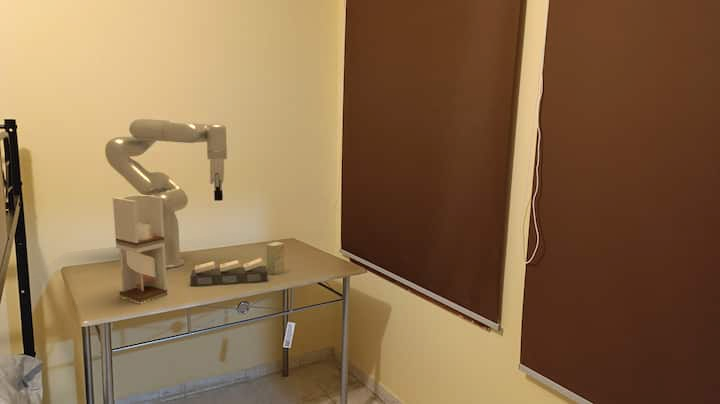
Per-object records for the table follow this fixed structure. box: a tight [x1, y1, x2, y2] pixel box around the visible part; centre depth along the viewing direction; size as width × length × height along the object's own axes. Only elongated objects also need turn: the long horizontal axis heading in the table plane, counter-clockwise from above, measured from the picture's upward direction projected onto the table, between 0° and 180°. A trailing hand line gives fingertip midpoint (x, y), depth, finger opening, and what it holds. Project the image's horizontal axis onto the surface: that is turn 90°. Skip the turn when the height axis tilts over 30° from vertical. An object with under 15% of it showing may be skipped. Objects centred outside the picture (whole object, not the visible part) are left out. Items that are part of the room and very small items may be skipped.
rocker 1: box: [194, 261, 216, 273], centre depth 181 cm, size 7×4×2 cm, turn 104°
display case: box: [112, 194, 168, 303], centre depth 164 cm, size 11×11×35 cm
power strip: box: [190, 265, 268, 288], centre depth 184 cm, size 28×8×4 cm, turn 104°
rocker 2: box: [243, 257, 264, 271], centre depth 185 cm, size 7×4×2 cm, turn 104°
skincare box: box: [266, 241, 285, 276], centre depth 194 cm, size 6×4×12 cm
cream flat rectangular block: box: [219, 259, 240, 272], centre depth 183 cm, size 7×4×2 cm, turn 104°
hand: (218, 200), depth 195 cm, fingers closed
